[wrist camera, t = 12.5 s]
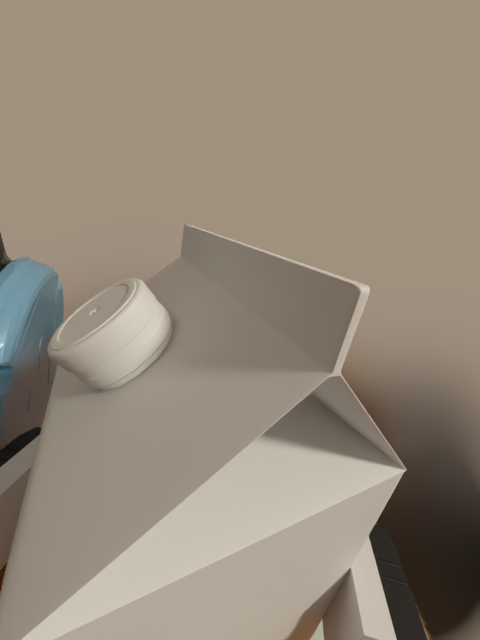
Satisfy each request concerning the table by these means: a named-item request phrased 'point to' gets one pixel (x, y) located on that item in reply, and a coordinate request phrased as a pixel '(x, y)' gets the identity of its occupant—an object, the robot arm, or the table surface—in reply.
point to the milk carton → (199, 457)
